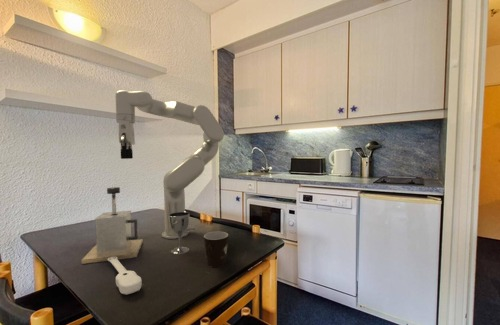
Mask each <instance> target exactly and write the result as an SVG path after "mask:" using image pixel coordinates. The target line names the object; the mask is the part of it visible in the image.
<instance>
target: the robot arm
mask: <svg viewBox="0 0 500 325" xmlns="http://www.w3.org/2000/svg"><path fill="white" fill-rule="evenodd" d="M114 97H115V120H116V123H118V142H119V144H120V159H122V160H125V159H126V160H129V159H133V158H134V157H133V155H134V154H133V146H132V145H135V144H136V141H135V128H134V124H136V110H135V109H136V108H137V109H138V111H141V112H143V113H146V114H150V115H153V116H158V117H164V118H167V119H175V120H178V121H180V122H185V123H188V124H192V125H195V126H199V127H200V129H202V131H203V134H202V136H203V137H202V139H203V143H202V145H201V146H200V147H199V148H198V149H197V150H196V151H194V152H193V153H192V154H190V155H189V156H187V157H186V158H185V159H183V161H182V162H181V163H180V164H179V165H178V166H177V167H176V168H174V169H172V170H169V171H167V172H166V173H165V175H164V176H163V182H162V184H163V196H164V198H163V199H164V200H163V201H164V207H163V208H164V231H163V232H162V233H161V237H162V238H163V239H167V240H170V239H171V240H174V239H178V236H177V234H176V233H175V232H174V231H173V230H172V229H171V227H170V222H169V214H171V213H174V212H186V194H185V193H186V192H185V188H187V187H188V186H189V185H191V183H192V182H194V181H195V180H196V179H197V178H199V177H200V176H201V175H202V174H203V172H204V170H205V166H206V165H208V163H210V162H211V161H212V160H213V159H214V158H215V157H216V155H217V154H218V151H219V146H220V145H219V143H220V142H222V140H223V139H224V137H225V132H224V130H223V128H222V126H221V124H220V123H219V121H218V120H217V119H216V117H215V115H214V114H213V113H212V111H211V110H210V109H209V107H207V106H205V105H202V104H200V105H197V106H194V105H191V104H189V103H188V104H187V103H184V102H181V101H177V100H176V101H175V100H173V101H162V100H157V99H153V97H152V95H151V94H150V93H149V92H147V91H143V90H138V91H137V90H135V91H130V90H117V91H116V92H115V96H114ZM192 230H196V225H192V224H189V225H188V228H187V229H186V230H185V232H184V233H183V234H182V237H181V238H184V237H187V236H188V235H189V233H190V231H192Z"/></svg>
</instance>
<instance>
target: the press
mask: <svg viewBox="0 0 500 325" xmlns="http://www.w3.org/2000/svg"><path fill="white" fill-rule="evenodd" d="M131 213H132V210H124V211H123V210H122V211H116V215H112V211H110V212H109V211H108V212H102V213H101V214H100V215H98V216H97V217H96V218H94V220H95V221H94V222H95V230H96V231H95V232H96V234H95V236H96V237H97V238H96V244H95V245H94V246H93V247H92V248H91V249H90V250H89V252H88V253H87V254H86V255H85V256H83V258H82V259H81V265H85V264H92V263H93V264H94V263H101V262H107V261H108V260H107V259H108V258H111V257H117V258H118V260H125V259H131V258H132V259H133V258H137V256H138V254H139V252H140V250H141V247H142V246H143V242H144V241H143V239H142V238H141V239H139V230H138V228H139V226H138V225H139V224H138V218H134V219H132V218H131V216H132V215H131ZM132 224H134V225H133V226H134V227H133V228H134V235H132ZM114 259H115V258H114ZM110 260H111V259H110ZM108 262H109V261H108Z"/></svg>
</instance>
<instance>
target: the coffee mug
mask: <svg viewBox="0 0 500 325" xmlns="http://www.w3.org/2000/svg"><path fill="white" fill-rule="evenodd" d="M228 239H229V234H228V233H227V232H225V231H221V230H220V231H219V230H217V231H210V232H207V233H205V234H204V235H203V240H204V246H205V254H206V263H207V266H208V265H209V266H208V267H210V266H212V267H211V268H220V267H219V266H221V267H223V266H225V265H226V264H227V263H226V262H227V253H228V252H227V251H228V241H229V240H228ZM224 264H225V265H224ZM222 265H223V266H222Z"/></svg>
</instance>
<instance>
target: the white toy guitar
mask: <svg viewBox="0 0 500 325" xmlns="http://www.w3.org/2000/svg"><path fill="white" fill-rule="evenodd" d="M114 258H115V259H114ZM110 259H111V260H110ZM107 260H108V262H110V264H112V266H113V267H114V269H115V270H116V271H117V272H118V274H117V275H116V276H115V285H116V287H117V288H118V290H119V292H120V293H121V294H122V295H130V294H135V293H136V292H139V291H140V289H141V288H142V284H143V283H142V277H141V276H139V275H138V274H137V272H135V271H134V270H127V268H126V267H125V266H123V264H122V263H121V262H120V259H118V258H117V257H111V258H108V259H107Z"/></svg>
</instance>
